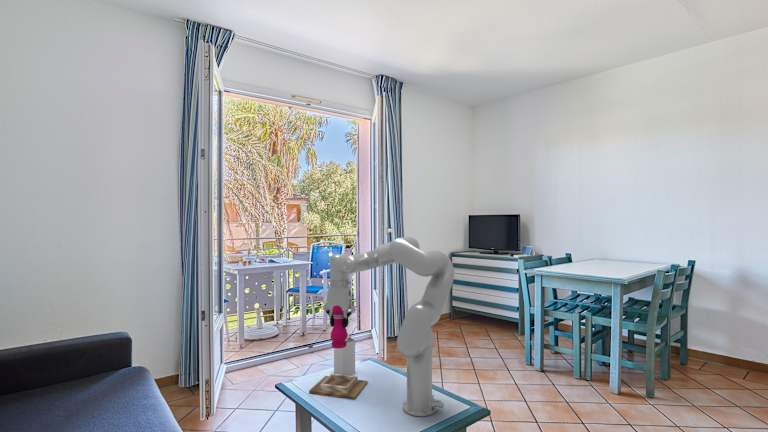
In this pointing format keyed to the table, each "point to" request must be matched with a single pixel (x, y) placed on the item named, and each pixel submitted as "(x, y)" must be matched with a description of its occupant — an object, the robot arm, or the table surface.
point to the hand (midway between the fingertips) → (339, 326)
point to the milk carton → (345, 358)
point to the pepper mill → (338, 329)
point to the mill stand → (339, 386)
